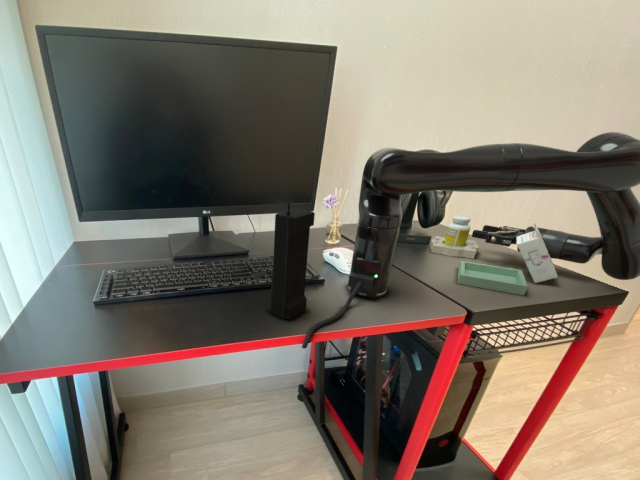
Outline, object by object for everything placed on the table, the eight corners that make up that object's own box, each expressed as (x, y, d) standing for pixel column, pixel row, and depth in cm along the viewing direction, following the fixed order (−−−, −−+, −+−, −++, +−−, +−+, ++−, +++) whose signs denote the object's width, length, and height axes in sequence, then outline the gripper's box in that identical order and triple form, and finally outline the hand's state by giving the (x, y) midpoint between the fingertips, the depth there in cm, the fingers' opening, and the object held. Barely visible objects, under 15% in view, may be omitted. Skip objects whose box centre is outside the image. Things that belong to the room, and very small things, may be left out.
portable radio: (288, 300, 79) (294, 194, 67) (309, 308, 75) (319, 198, 63) (267, 312, 74) (270, 200, 62) (288, 321, 70) (295, 204, 58)
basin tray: (524, 295, 79) (528, 286, 78) (457, 283, 86) (460, 275, 85) (518, 278, 88) (521, 269, 87) (458, 268, 95) (461, 260, 94)
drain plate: (476, 259, 101) (478, 252, 100) (428, 252, 107) (430, 245, 106) (475, 247, 111) (477, 240, 110) (431, 242, 117) (433, 235, 116)
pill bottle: (463, 249, 110) (473, 216, 105) (462, 254, 106) (473, 220, 100) (442, 246, 113) (451, 214, 108) (441, 251, 108) (450, 218, 103)
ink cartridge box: (531, 273, 91) (511, 227, 90) (555, 267, 88) (534, 218, 87) (533, 284, 85) (511, 234, 84) (558, 277, 82) (536, 225, 81)
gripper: (555, 225, 93) (490, 215, 104) (542, 234, 85) (473, 222, 96) (544, 250, 96) (482, 237, 107) (530, 261, 88) (465, 246, 100)
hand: (478, 230), depth 102 cm, fingers open, 8 cm apart
